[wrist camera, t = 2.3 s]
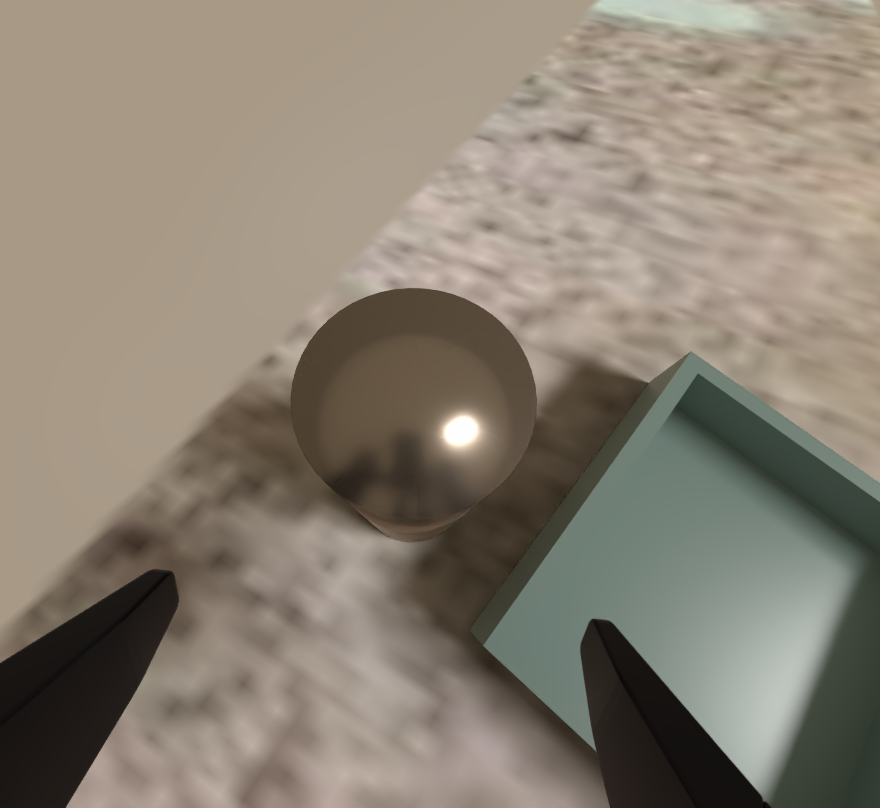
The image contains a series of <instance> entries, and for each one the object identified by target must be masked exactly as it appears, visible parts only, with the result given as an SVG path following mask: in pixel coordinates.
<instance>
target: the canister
mask: <svg viewBox="0 0 880 808" xmlns="http://www.w3.org/2000/svg"><path fill="white" fill-rule="evenodd" d="M536 406H537V398H536V388H535V382H534V378H533V374H532V370H531V368H530V365H529V363H528V360H527V358H526V356H525V354H524V352H523V350H522V348H521V346H520V345H519V343H518V342H517V341H516V339H515V338H514V336H513V335H512V334H511V333H510V331H509V330H508V329H507V328H506V327H505V326H504V325H503V324H502V323H501V322H500V321H499V320H498V319H496V318H495V317H494V316H493V315H492V314H490V313H489V312H487V311H486V310H484V309H483V308H481V307H480V306H478V305H476V304H474V303H472V302H470V301H468V300H467V299H464V298H461V297H459V296H456V295H453V294H450V293H446V292H442V291H438V290H431V289H421V288H406V289H395V290H390V291H385V292H380V293H377V294H374V295H371V296H367V297H365V298H363V299H360V300H358V301H356V302H354V303H352V304H350V305H349V306H347V307H345V308H344V309H342V310H340V311H339V312H338V313H337V314H335V315H334V316H333V317H331V318H330V319H329V320H328V321H327V322H326V323H325V324H324V325H323V326H322V327H321V328H320V329H319V330H318V331H317V333H316V334H315V335H314V336H313V338H312V339H311V340H310V342H309V343H308V345H307V347H306V348H305V350H304V352H303V354H302V356H301V358H300V361H299V363H298V365H297V368H296V371H295V375H294V379H293V383H292V392H291V415H292V421H293V426H294V431H295V434H296V437H297V440H298V443H299V445H300V447H301V449H302V451H303V453H304V455H305V457H306V459H307V460H308V462H309V463H310V465H311V466H312V467H313V469H314V470H315V472H316V473H317V474H318V475H319V476H320V477H321V478H322V479H323V480H324V481H325V483H326V484H327V485H329V486H330V487H331V488H332V489H333V490H334V491H335V492H336V493H338V494H339V495H340V496H341V497H342V498H343V499H344V500H346V501H347V502H348V503H349V504H350V505H351V506H352V507H354V508H355V509H356V510H357V511H358V512H359V513H360V514H361V515H363V516H364V517H365V518H366V519H367V520H368V521H369V522H371V523H372V524H373V525H374V526H375V527H376V528H377V529H379V530H380V531H381V532H382V533H384V534H385V535H387V536H389V537H391V538H393V539H395V540H399V541H402V542H422V541H426V540H429V539H432V538H434V537H436V536H438V535H440V534H441V533H443V532H444V531H445V530H446V529H447V528H449V527H450V526H451V525H452V524H453V523H455V522H456V521H457V520H458V519H460V518H461V517H462V516H463V515H464V514H466V513H467V512H468V511H469V510H470V509H472V508H473V507H474V506H475V505H476V504H478V503H479V502H480V501H481V500H483V499H484V498H485V497H486V496H487V495H489V494H490V493H491V492H492V491H493V490H495V489H496V488H497V487H498V486H499V485H501V484H502V483H503V482H504V481H505V480H506V478H507V477H508V476H509V475H510V474H511V473H512V472H513V470H514V469H515V468H516V466H517V465H518V463H519V462H520V460H521V459H522V457H523V455H524V453H525V451H526V449H527V447H528V445H529V442H530V439H531V436H532V433H533V430H534V424H535V419H536Z"/></svg>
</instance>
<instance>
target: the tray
mask: <svg viewBox="0 0 880 808" xmlns="http://www.w3.org/2000/svg"><path fill="white" fill-rule="evenodd" d="M594 618H595V619H604V620H609V621H611V622H612V623H613V624H614V625H615V626H616V627H617V628H618V629H619V631H620V632H621V633H622V634H623V635H624V636H625V638H626V639H627V640H628V641H629V642H630V643H631V645H632V646H633V647H634V648H635V649H636V650H637V651H638V653H639V654H640V655H641V656H642V657H643V658H644V660H645V661H646V662H647V663H648V664H649V665H650V667H651V668H652V669H653V670H654V671H655V672H656V674H657V675H658V676H659V677H660V678H661V679H662V681H663V682H664V683H665V684H666V685H667V686H668V688H669V689H670V690H671V691H672V692H673V693H674V695H675V696H676V697H677V698H678V699H679V700H680V701H681V703H682V704H683V705H684V706H685V707H686V708H687V710H688V711H689V712H690V713H691V714H692V715H693V717H694V718H695V719H696V720H697V721H698V722H699V724H700V725H701V726H702V727H703V728H704V729H705V731H706V732H707V733H708V734H709V735H710V736H711V738H712V739H713V740H714V741H715V742H716V743H717V744H718V746H719V747H720V748H721V749H722V750H723V751H724V753H725V754H726V755H727V756H728V757H729V758H730V760H731V761H732V762H733V763H734V764H735V765H736V767H737V768H738V769H739V770H740V771H741V772H742V774H743V775H744V776H745V777H746V778H747V779H748V781H749V782H750V783H751V784H752V785H753V786H754V788H755V789H756V790H757V791H758V792H759V793H760V794H761V796H762V797H763V801H766V802H767V803H768V804H769V805H770V806H771V807H772V808H880V483H879V482H877V481H876V480H874V479H873V478H872V477H870V476H869V475H867V474H866V473H864V472H863V471H862V470H860V469H859V468H857V467H856V466H854V465H853V464H852V463H850V462H849V461H847V460H846V459H844V458H843V457H842V456H840V455H839V454H837V453H836V452H834V451H833V450H832V449H830V448H829V447H827V446H826V445H824V444H823V443H821V442H820V441H819V440H817V439H816V438H814V437H813V436H811V435H810V434H809V433H807V432H806V431H804V430H803V429H801V428H800V427H799V426H797V425H796V424H794V423H793V422H791V421H790V420H789V419H787V418H786V417H784V416H783V415H781V414H780V413H779V412H777V411H776V410H774V409H773V408H771V407H770V406H769V405H767V404H766V403H764V402H763V401H761V400H760V399H759V398H757V397H756V396H754V395H753V394H751V393H750V392H749V391H747V390H746V389H744V388H743V387H741V386H740V385H739V384H737V383H736V382H734V381H733V380H731V379H730V378H729V377H727V376H726V375H724V374H723V373H721V372H720V371H719V370H717V369H716V368H714V367H713V366H711V365H710V364H708V363H707V362H706V361H704V360H703V359H701V358H700V357H698V356H697V355H696V354H694V353H693V352H690V353H688V354H687V355H686V356H684V357H683V358H682V359H680V360H679V361H678V362H676V363H675V364H674V365H672V366H671V367H669V368H668V369H667V370H665V371H664V372H663V373H661V374H660V375H659V376H657V377H656V378H655V379H653V380H652V381H651V382H649V383H648V385H647V386H646V388H645V389H644V390H643V392H642V393H641V394H640V396H639V397H638V399H637V400H636V401H635V403H634V404H633V405H632V407H631V408H630V410H629V411H628V412H627V414H626V415H625V416H624V418H623V419H622V420H621V422H620V423H619V425H618V426H617V427H616V429H615V430H614V431H613V433H612V434H611V436H610V437H609V438H608V440H607V441H606V442H605V444H604V445H603V447H602V448H601V449H600V451H599V452H598V453H597V455H596V456H595V458H594V459H593V460H592V462H591V463H590V464H589V466H588V467H587V469H586V470H585V471H584V473H583V474H582V475H581V477H580V478H579V480H578V481H577V482H576V484H575V485H574V486H573V488H572V489H571V491H570V492H569V493H568V495H567V496H566V497H565V499H564V500H563V502H562V503H561V504H560V506H559V507H558V508H557V510H556V511H555V513H554V514H553V515H552V517H551V518H550V519H549V521H548V522H547V524H546V525H545V526H544V528H543V529H542V530H541V532H540V533H539V535H538V536H537V537H536V539H535V540H534V541H533V543H532V544H531V546H530V547H529V548H528V550H527V551H526V552H525V554H524V555H523V556H522V558H521V559H520V561H519V562H518V563H517V565H516V566H515V567H514V569H513V570H512V572H511V573H510V574H509V576H508V577H507V578H506V580H505V581H504V583H503V584H502V585H501V587H500V588H499V589H498V591H497V592H496V594H495V595H494V596H493V598H492V599H491V600H490V602H489V603H488V605H487V606H486V607H485V609H484V610H483V611H482V613H481V614H480V616H479V617H478V618H477V620H476V621H475V622H474V624H473V625H472V627H471V628H470V629H469V630H470V631H471V632H472V633H473V634H474V636H475V637H476V638H477V639H478V640H479V642H480V643H481V644H482V645H483V646H484V647H485V648H486V649H487V650H488V651H489V652H490V653H491V654H492V655H493V656H494V657H496V658H497V659H498V660H499V661H500V662H501V663H502V664H503V665H504V666H505V667H506V668H507V669H508V670H509V671H511V672H512V673H513V674H514V675H515V676H516V677H517V678H518V679H519V680H520V681H521V682H522V683H523V684H524V685H526V686H527V687H528V688H529V689H530V690H531V691H532V692H533V693H534V694H535V695H536V696H537V697H538V698H540V699H541V700H542V701H543V702H544V703H545V704H546V705H547V706H548V707H549V708H550V709H551V710H552V711H553V712H555V713H556V714H557V715H558V716H559V717H560V718H561V719H562V720H563V721H564V722H565V723H566V724H567V725H568V726H570V727H571V728H572V729H573V730H574V731H575V732H576V733H577V734H578V735H579V736H580V737H581V738H582V739H583V740H585V741H586V742H587V743H588V744H589V745H590V746H591V747H592V748H593V749H594V750H595V751H596V748H595V743H594V739H593V734H592V729H591V723H590V717H589V710H588V703H587V696H586V689H585V683H584V676H583V669H582V662H581V655H580V645H581V641H582V638H583V636H584V633H585V631H586V628H587V626H588V623H589V621H590V620H591V619H594Z"/></svg>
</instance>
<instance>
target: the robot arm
mask: <svg viewBox="0 0 880 808" xmlns="http://www.w3.org/2000/svg"><path fill="white" fill-rule="evenodd" d="M178 602H179V595H178V590H177V585H176V580H175V575H174V573H173V572H172V571H169V570H160V569H153V570H150V571H148V572H146V573H144V574H143V575H141V576H140V577H138V578H136V579H135V580H133V581H131V582H130V583H128V584H127V585H125V586H123V587H122V588H120V589H119V590H117V591H115V592H114V593H112V594H111V595H109V596H107V597H106V598H104V599H102V600H101V601H99V602H98V603H96V604H94V605H93V606H91V607H90V608H88V609H86V610H85V611H83V612H82V613H80V614H78V615H77V616H75V617H74V618H72V619H70V620H69V621H67V622H65V623H64V624H62V625H61V626H59V627H57V628H56V629H54V630H53V631H51V632H49V633H48V634H46V635H45V636H43V637H41V638H40V639H38V640H36V641H35V642H33V643H32V644H30V645H28V646H27V647H25V648H24V649H22V650H20V651H19V652H17V653H16V654H14V655H12V656H11V657H9V658H8V659H6V660H4V661H3V662H1V663H0V808H66V806H67V805H68V803H69V801H70V800H71V798H72V796H73V795H74V793H75V791H76V790H77V788H78V786H79V785H80V783H81V781H82V780H83V778H84V776H85V775H86V773H87V771H88V770H89V768H90V767H91V765H92V763H93V762H94V760H95V758H96V757H97V755H98V753H99V752H100V750H101V748H102V747H103V745H104V743H105V742H106V740H107V738H108V737H109V735H110V733H111V732H112V730H113V728H114V727H115V725H116V723H117V722H118V720H119V718H120V717H121V715H122V714H123V712H124V710H125V709H126V707H127V705H128V704H129V702H130V700H131V699H132V697H133V695H134V693H135V692H136V690H137V688H138V686H139V685H140V683H141V681H142V679H143V677H144V675H145V673H146V671H147V669H148V667H149V665H150V663H151V661H152V659H153V657H154V655H155V653H156V650H157V648H158V646H159V644H160V642H161V640H162V638H163V636H164V634H165V632H166V630H167V628H168V626H169V624H170V622H171V620H172V618H173V615H174V613H175V611H176V609H177V606H178ZM580 655H581V662H582V669H583V676H584V683H585V689H586V696H587V703H588V710H589V717H590V723H591V729H592V734H593V739H594V743H595V748H596V752H597V756H598V760H599V764H600V768H601V772H602V776H603V780H604V785H605V789H606V793H607V797H608V801H609V805H610V808H772V807H771V806H770V805H769V804H768V803H767V802H766V801H763V797H762V796H761V794H760V793H759V792H758V791H757V790H756V789H755V788H754V786H753V785H752V784H751V783H750V782H749V781H748V779H747V778H746V777H745V776H744V775H743V774H742V772H741V771H740V770H739V769H738V768H737V767H736V765H735V764H734V763H733V762H732V761H731V760H730V758H729V757H728V756H727V755H726V754H725V753H724V751H723V750H722V749H721V748H720V747H719V746H718V744H717V743H716V742H715V741H714V740H713V739H712V738H711V736H710V735H709V734H708V733H707V732H706V731H705V729H704V728H703V727H702V726H701V725H700V724H699V722H698V721H697V720H696V719H695V718H694V717H693V715H692V714H691V713H690V712H689V711H688V710H687V708H686V707H685V706H684V705H683V704H682V703H681V701H680V700H679V699H678V698H677V697H676V696H675V695H674V693H673V692H672V691H671V690H670V689H669V688H668V686H667V685H666V684H665V683H664V682H663V681H662V679H661V678H660V677H659V676H658V675H657V674H656V672H655V671H654V670H653V669H652V668H651V667H650V665H649V664H648V663H647V662H646V661H645V660H644V658H643V657H642V656H641V655H640V654H639V653H638V651H637V650H636V649H635V648H634V647H633V646H632V645H631V643H630V642H629V641H628V640H627V639H626V638H625V636H624V635H623V634H622V633H621V632H620V631H619V629H618V628H617V627H616V626H615V625H614V624H613V623H612V622H611V621H609V620H604V619H595V618H594V619H591V620H590V621H589V623H588V626H587V628H586V631H585V633H584V636H583V638H582V641H581V645H580Z"/></svg>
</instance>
